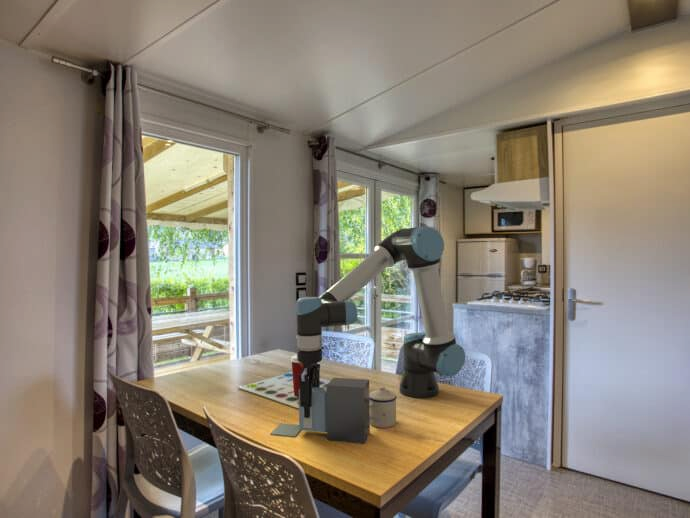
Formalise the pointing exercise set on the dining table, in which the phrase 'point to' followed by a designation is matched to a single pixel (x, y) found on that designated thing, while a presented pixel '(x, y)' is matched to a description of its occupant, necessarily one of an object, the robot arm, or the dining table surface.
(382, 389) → the teacup with lid
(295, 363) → the coffee cup
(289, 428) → the pad
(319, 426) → the slate blue cuboid
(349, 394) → the dark gray cuboid
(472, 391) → the dining table surface
